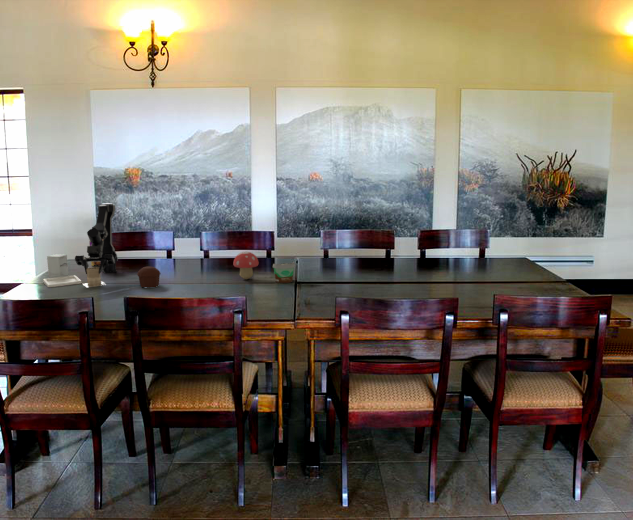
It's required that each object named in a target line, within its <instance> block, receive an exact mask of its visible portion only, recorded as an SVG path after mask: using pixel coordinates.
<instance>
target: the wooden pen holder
mask: <svg viewBox="0 0 633 520" xmlns="http://www.w3.org/2000/svg"><path fill="white" fill-rule="evenodd" d="M99 267H100V266H99ZM99 267H98V266H91V267H88V268H87V269H86V270H87V274H86V278H87V279H86V280H87V282H86V283H88V285H90V286H95V287H97V286H96V285H100V284H101V281H102V280H101V279H102V278H101V277H102V276H101V273H100V274H99Z"/></svg>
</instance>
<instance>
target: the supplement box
mask: <svg viewBox="0 0 633 520" xmlns="http://www.w3.org/2000/svg"><path fill="white" fill-rule="evenodd" d="M46 257H47V258H46V260H47V271H48V278H56V277H65V276H69V268H68V265H69V264H68V255H67V254H66V253H65V254H63V253H61V254H59V253H57V254H56V253H55V254H51V255H48V256H46Z"/></svg>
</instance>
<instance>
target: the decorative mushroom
mask: <svg viewBox="0 0 633 520" xmlns="http://www.w3.org/2000/svg"><path fill="white" fill-rule="evenodd" d="M259 263H260V262H259V259H258V257H257V256H256V255H255V254H254V253H253V252H251V251H242V252H240V253H238V254H237V255H236V256H235V257H234V259H233V266H234V268H239V276H240V278H242V279H244V280H249V279H251V278H252V276H253V275H254V271H253V268H257V267H258V265H259Z"/></svg>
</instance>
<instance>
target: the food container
mask: <svg viewBox="0 0 633 520" xmlns="http://www.w3.org/2000/svg"><path fill="white" fill-rule="evenodd" d="M295 267H296V265H295V262H294V261H292V263H280V264H279V263H273V264H272V269H273V273H274V281H275V283H277V284H289V283H292V282H293V279H294V269H295Z"/></svg>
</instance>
